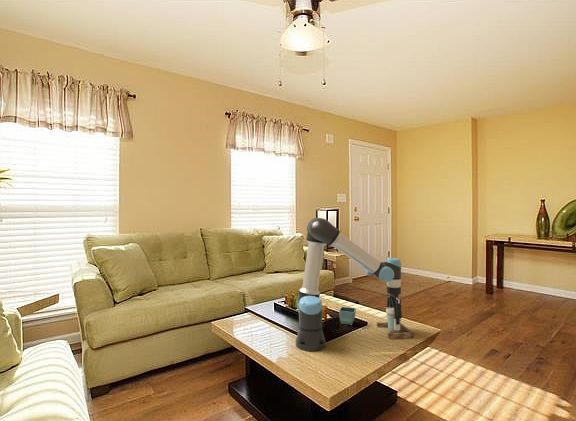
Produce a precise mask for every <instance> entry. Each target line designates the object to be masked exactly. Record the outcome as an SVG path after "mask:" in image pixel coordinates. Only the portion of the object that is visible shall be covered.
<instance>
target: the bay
mask: <svg viewBox="0 0 576 421" xmlns="http://www.w3.org/2000/svg"><path fill="white" fill-rule="evenodd" d="M376 327H377V328H388V321H386V322H385V321H381V322H380V321H379V322H376ZM400 330H401V331H402V332H387V338H388V339H389V340H390V339H392V340H393V339H396V340H397V339H414V335H415V333H414V332H413V331H412V330H410V329H409V328H408V327H406V326H405V325H404V324H403V323H401V322H400Z"/></svg>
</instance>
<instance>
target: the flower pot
mask: <svg viewBox="0 0 576 421" xmlns="http://www.w3.org/2000/svg"><path fill="white" fill-rule="evenodd" d="M356 310H357V308H355V307H348V306H341V307H340V308H339V311H338V313H339V322H340V323H341V324H349V325H351V326H353V323H354V321H355V318H356Z"/></svg>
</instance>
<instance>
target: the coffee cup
mask: <svg viewBox="0 0 576 421" xmlns="http://www.w3.org/2000/svg"><path fill="white" fill-rule="evenodd" d="M401 312H402V310H401ZM385 313H386V320H387V321H386V322H388V327H387V328H388V331H389V332H390V333H400V330H394V317H395V313H394V307H387V306H386V309H385ZM402 313H403V312H402ZM401 319H402V318H400V323H401Z"/></svg>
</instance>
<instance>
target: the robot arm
mask: <svg viewBox="0 0 576 421" xmlns="http://www.w3.org/2000/svg"><path fill="white" fill-rule="evenodd" d="M306 232H307V233H306V240H305V241H306V242H307V250H306V251H307V252H306V257H305V259H306V260H305V267H304V272H303V273H304V274H303V280H302V285H301V287H300V288H299V289H298V295H297V298H296V304H295V305H296V308H297V311H298V331H297V335H296V337H295V346H296V348H298V349H299V350H300V351H301V350H302V351H305V352H319V351H321V350H323V349H325V348H326V338H325V335H324V332H323V302H322V299H320V296H321V292H320V291H319V283H320V276H321V269H322V263H323V262H322V261H323V255H324V250H325V249H324V248H325V246H329V247H333V248H335V249H336V250H338V251H339V252H340V253H342V254H344V255H345V256H346V257H347V258H349V259H350V260H352V261H353V262H355V263H357V264H358V265H359V266H361V267H362V268H364V270H365V275H366V276H368V277H376V278H377V279H379V280H380V281H382V282H386V293H387V294H386V296H387V298H386V308H387V307H394V313H395V317H394V330H399V331H400V330H401V329H400V323H401V322H400V318H401V319H402V318H403V314H402V313H403V312H401V311H402V300H401V299H399V298H400V297H399V296H400V295H401V293H402V287H401V286H402V263H401V262H402V261H401V259H400V258H399V257H398V258H397V257H388V258H387V259H386V261H380V260H379V259H377V257H374V256H373V255H371V253H369V252H367V251H366V250H365V249H363V248H362V247H360V246H359V245H357V244H355V243H354V242H353V241H352V240H350V239H349V238H348V237H346V236H345V235H343V234H342V232H341V230H339V229H338V228H337V227H336V226H335V225H333V224H332V223H331V222H330V221H329V220H328V219H326V218H323V217H315V218H312V219H311V220H309V222H308V223H307V226H306Z"/></svg>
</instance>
